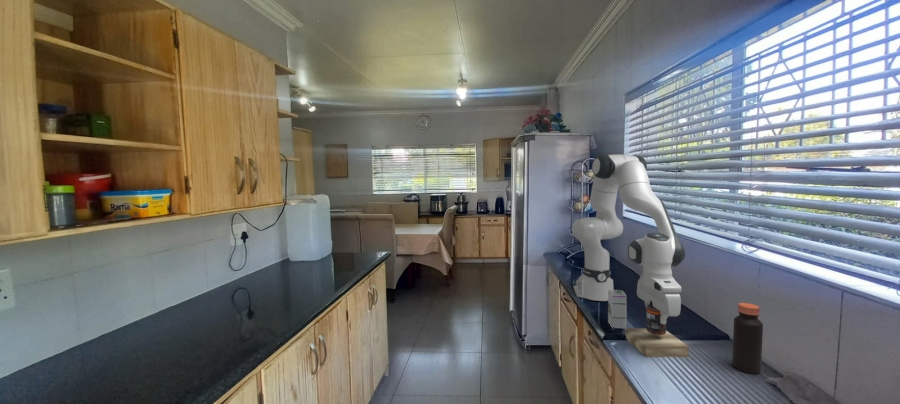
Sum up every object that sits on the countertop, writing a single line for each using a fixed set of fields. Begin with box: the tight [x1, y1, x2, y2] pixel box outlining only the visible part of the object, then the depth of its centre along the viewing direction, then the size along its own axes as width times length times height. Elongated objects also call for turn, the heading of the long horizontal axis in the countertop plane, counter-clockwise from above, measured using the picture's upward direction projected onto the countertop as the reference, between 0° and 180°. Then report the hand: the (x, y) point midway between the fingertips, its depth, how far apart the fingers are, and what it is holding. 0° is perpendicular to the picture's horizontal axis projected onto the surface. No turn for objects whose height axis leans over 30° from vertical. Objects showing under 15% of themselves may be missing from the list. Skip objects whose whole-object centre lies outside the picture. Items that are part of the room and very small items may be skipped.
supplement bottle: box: [645, 300, 667, 335], centre depth 119 cm, size 6×6×11 cm
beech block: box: [624, 327, 690, 358], centre depth 120 cm, size 14×14×4 cm
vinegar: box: [731, 302, 764, 375], centre depth 105 cm, size 7×7×20 cm
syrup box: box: [607, 289, 628, 328], centre depth 136 cm, size 6×6×14 cm
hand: (656, 318), depth 119 cm, fingers closed on supplement bottle, 6 cm apart
